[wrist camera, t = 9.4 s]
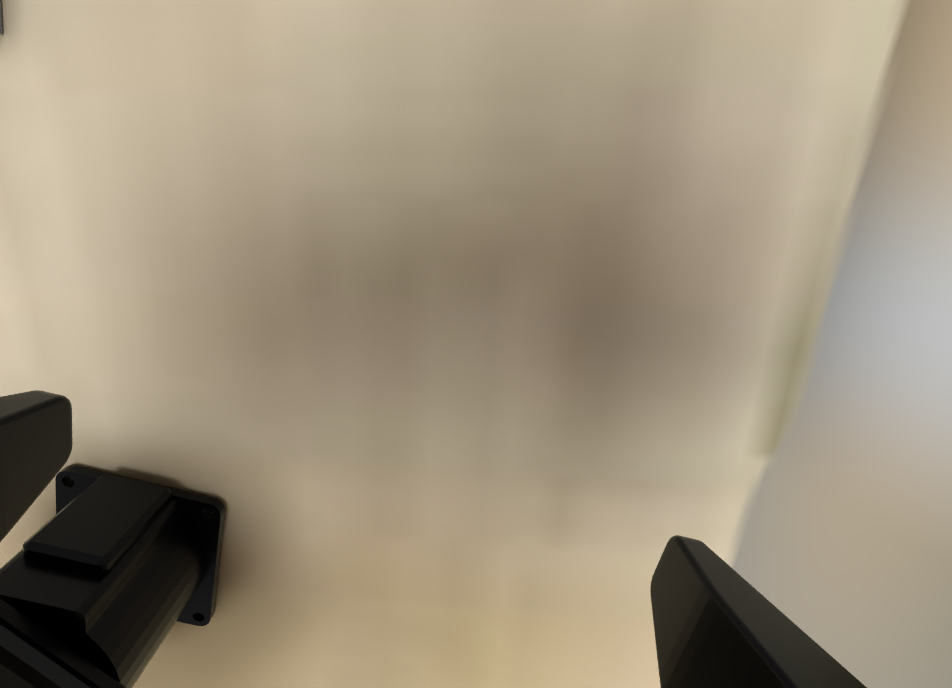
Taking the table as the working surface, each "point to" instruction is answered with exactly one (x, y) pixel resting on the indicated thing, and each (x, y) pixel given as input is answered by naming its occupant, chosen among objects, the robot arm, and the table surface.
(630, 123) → the table surface
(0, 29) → the tray
